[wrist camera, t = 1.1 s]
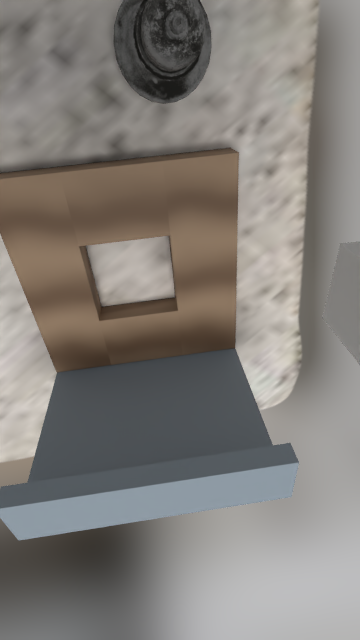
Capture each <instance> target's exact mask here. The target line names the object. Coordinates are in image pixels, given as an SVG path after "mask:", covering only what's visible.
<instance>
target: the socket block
mask: <svg viewBox="0 0 360 640" xmlns="http://www.w3.org/2000/svg"><path fill="white" fill-rule="evenodd" d="M238 160H239V153H238V152H237V151H235V150H233V149H232V148H225V149H216V150H207V151H197V152H188V153H179V154H170V155H161V156H152V157H143V158H134V159H125V160H116V161H107V162H97V163H88V164H79V165H70V166H61V167H52V168H43V169H34V170H25V171H16V172H7V173H0V234H1V236H2V239H3V241H4V244H5V246H6V249H7V251H8V254H9V256H10V259H11V261H12V263H13V266H14V268H15V271H16V273H17V276H18V278H19V281H20V283H21V286H22V288H23V291H24V293H25V295H26V298H27V300H28V303H29V305H30V308H31V310H32V313H33V315H34V318H35V320H36V322H37V325H38V327H39V330H40V332H41V335H42V337H43V340H44V342H45V345H46V347H47V350H48V352H49V354H50V357H51V359H52V362H53V364H54V367H55V369H56V372H64V371H71V370H79V369H86V368H93V367H100V366H108V365H115V364H122V363H130V362H137V361H144V360H151V359H159V358H166V357H173V356H180V355H188V354H195V353H202V352H210V351H217V350H224V349H231V348H235V333H236V275H237V218H238ZM160 236H169V241H170V251H171V260H172V270H173V279H174V289H175V298H168V299H161V300H153V301H145V302H137V303H130V304H122V305H114V306H106V307H101V304H100V300H99V296H98V292H97V288H96V284H95V281H94V277H93V273H92V269H91V265H90V261H89V257H88V254H87V250H86V245H94V244H103V243H111V242H119V241H127V240H136V239H144V238H152V237H160Z"/></svg>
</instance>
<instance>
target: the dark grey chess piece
mask: <svg viewBox="0 0 360 640" xmlns="http://www.w3.org/2000/svg"><path fill="white" fill-rule="evenodd" d="M114 47H115V53H116V59H117V62H118V64H119V67H120V70H121V72H122V74H123V76H124V77H125V79H126V80H127V82H128V83H129V85H130V86H131V87H132V88H133V89H134V90H135V91H136V92H137V93H138V94H139V95H140V96H142V97H144V98H146V99H148V100H150V101H153V102H158V103H171V102H176V101H178V100H180V99H183V98H185V97H186V96H188V95H189V94H190V93H191V92H192V91H193V90H194V89H196V87H197V86H198V84H199V83H200V81H201V80H202V78H203V77H204V74H205V72H206V69H207V67H208V64H209V59H210V53H211V30H210V26H209V22H208V18H207V14H206V12H205V10H204V8H203V6H202V4H201V2H200V0H124V1H123V2H122V4H121V6H120V8H119V10H118V14H117V18H116V22H115V25H114Z"/></svg>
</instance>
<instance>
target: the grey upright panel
mask: <svg viewBox="0 0 360 640" xmlns="http://www.w3.org/2000/svg"><path fill="white" fill-rule="evenodd" d="M298 464H299V462H298V459H297V457H296V455H295V452H294V450H293V448H292V446H291V444H290V443H287V444H280V445H274V446H273V445H272V442H271V439H270V437H269V435H268V432H267V429H266V427H265V424H264V421H263V419H262V417H261V414H260V411H259V409H258V406H257V403H256V401H255V398H254V396H253V393H252V391H251V388H250V385H249V383H248V380H247V378H246V375H245V373H244V370H243V367H242V365H241V362H240V360H239V357H238V355H237V352H236V349H235V348H231V349H224V350H217V351H210V352H202V353H195V354H188V355H180V356H173V357H166V358H159V359H151V360H144V361H137V362H130V363H122V364H115V365H108V366H100V367H93V368H86V369H79V370H71V371H64V372H57V375H56V379H55V383H54V387H53V390H52V394H51V398H50V401H49V405H48V409H47V412H46V416H45V420H44V423H43V427H42V431H41V435H40V438H39V442H38V446H37V449H36V453H35V457H34V461H33V464H32V468H31V472H30V475H29V479H28V483H23V484H17V485H10V486H3V487H1V489H0V518H1V519H2V521H3V522H4V523H5V524H6V525H7V527H8V528H9V529H10V530H11V531H12V533H13V534H14V535H15V536H16V537H17V539H18V540H24V539H30V538H37V537H43V536H49V535H55V534H62V533H68V532H73V531H80V530H87V529H93V528H99V527H106V526H112V525H118V524H125V523H131V522H137V521H143V520H149V519H156V518H162V517H169V516H175V515H181V514H187V513H193V512H200V511H206V510H213V509H219V508H224V507H231V506H238V505H244V504H250V503H257V502H262V501H269V500H275V499H281V498H288V497H291V496H292V492H293V487H294V483H295V478H296V473H297V469H298Z"/></svg>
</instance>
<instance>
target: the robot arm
mask: <svg viewBox="0 0 360 640" xmlns="http://www.w3.org/2000/svg"><path fill="white" fill-rule="evenodd" d="M322 318H323V320H324V321H325V322H326V323H327V325H328V326H329V327H330V328H331V330H332V331H333V332H334V333H335V334H336V336H337V337H338V338H339V339H340V341H341V342H342V343H343V344H344V346H345V347H346V348H347V349H348V351H349V352H350V353H351V354H352V355H353V357H354V358H355V359H356V360H357V362H358V363H359V364H360V242H351V243H341V244H340V248H339V251H338V255H337V260H336V264H335V268H334V272H333V276H332V280H331V284H330V288H329V292H328V297H327V301H326V305H325V309H324V313H323V317H322Z"/></svg>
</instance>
